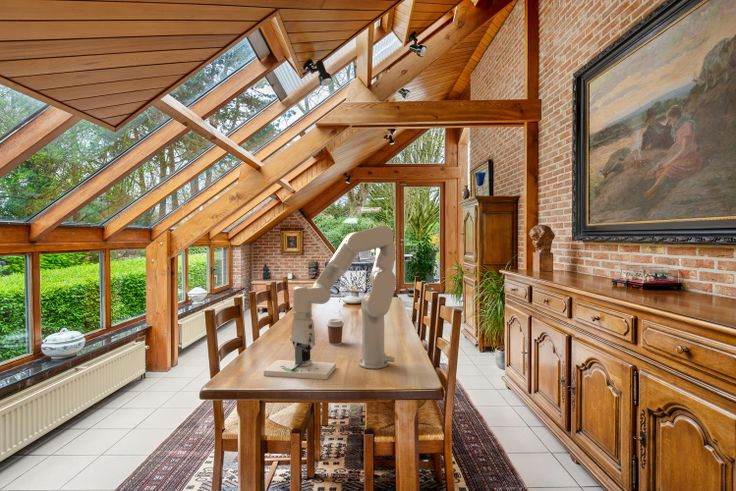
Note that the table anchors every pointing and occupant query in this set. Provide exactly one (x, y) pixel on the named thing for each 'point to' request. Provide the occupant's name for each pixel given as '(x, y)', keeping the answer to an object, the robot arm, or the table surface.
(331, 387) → the table surface
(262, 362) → the table surface
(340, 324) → the coffee cup
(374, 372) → the table surface
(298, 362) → the grey boxy piece
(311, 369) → the dial board
